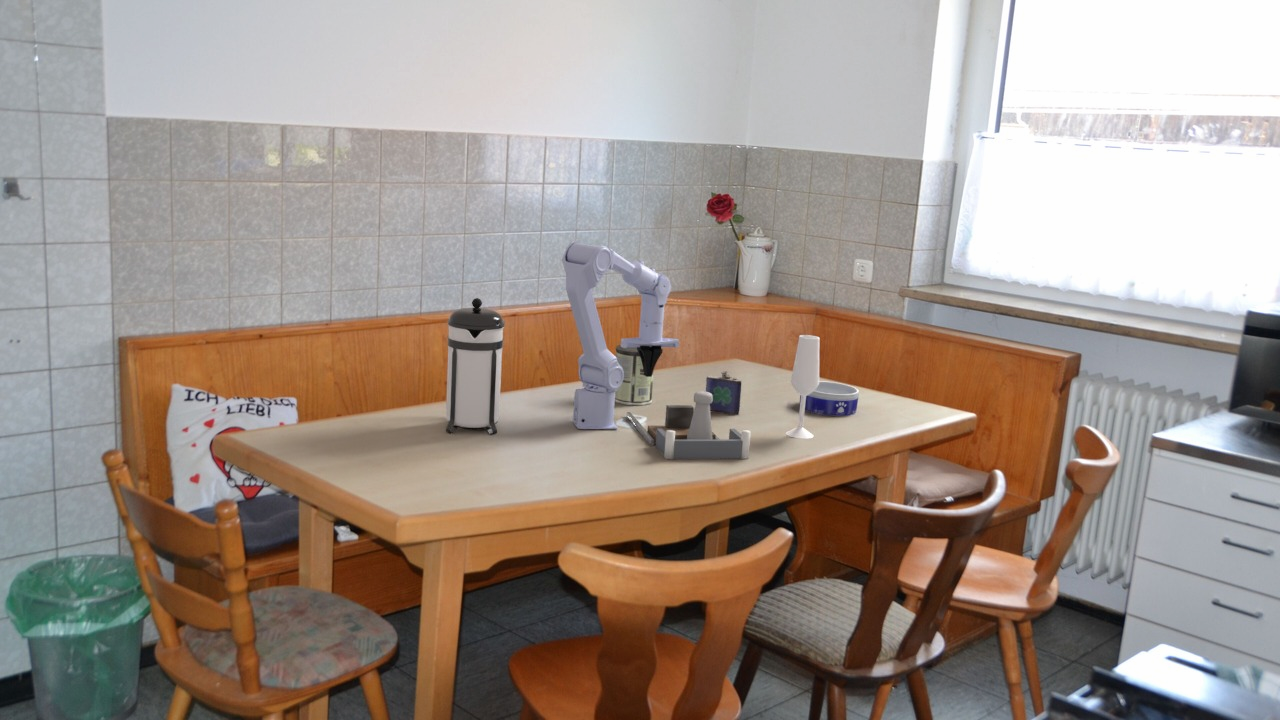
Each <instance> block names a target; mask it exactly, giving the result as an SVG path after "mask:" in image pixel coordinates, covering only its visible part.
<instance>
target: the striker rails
mask: <svg viewBox="0 0 1280 720" xmlns="http://www.w3.org/2000/svg"><path fill="white" fill-rule="evenodd" d="M626 416H629V417H631V418H632V420H633V422H634V423H635V425H636V427H635V429H637V431H638V432H639V433H640V434H641V436H642V437H643V438H644V439H645V440H646V442H647V443H648V444H649V445H650V446H655V440H654V439H653V438H652V437H651V435H650V434H649V433H648V432H647V430H646V428H645V427H644V426H643V425H642V424H641V423H640V422H639V421H638V419H637V418H636V417H635V416H634V415H633V414H632V412H631V411H626ZM715 439H720V438H719V437H718V436H717V435H716V438H715Z"/></svg>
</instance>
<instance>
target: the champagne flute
mask: <svg viewBox="0 0 1280 720" xmlns="http://www.w3.org/2000/svg"><path fill="white" fill-rule="evenodd" d="M820 340H821V339H820V337H819V336H817V335H809V334H800V335H799V336H798V342H797V347H796V352H795V358H794V362H793V363H794V364H793V368H792V373H791V376H790V383H791V386H792V388H793V389H794V390H795V391H796V392H797V393H798V394H799V396H800V395H801V402H800V401H799V412H798V423H797V427H794V428H793V429H790V430H788V431H786V432H785V434H786V435H787V436H788V437H791V438H795V439H804V440H806V439H807V440H808V439H813V438H814V434H813V433H811V432H810V431H808V430H807V429H806V428H804V419H805V411H806V410H805V401H806V396H807V395H809V394H810V393H812V392H813V391H814V390H815V389H816V388H817V387H818V385H819V381H820Z"/></svg>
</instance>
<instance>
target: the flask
mask: <svg viewBox="0 0 1280 720" xmlns="http://www.w3.org/2000/svg"><path fill="white" fill-rule="evenodd" d="M728 372H729V371H728V370H724V371H721V376H718V375H717V376H716V375H708V376H706V379H705V383H706V384H705V392H709V393H711V394H712V395H713V401H712V403H711V404H710V413H718V414H726V415H732V416H739V415H740V407H741V394H742V380H741V379H739V378H737V377H732V376H730V375H729V374H728Z"/></svg>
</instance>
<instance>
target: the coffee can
mask: <svg viewBox="0 0 1280 720" xmlns="http://www.w3.org/2000/svg"><path fill="white" fill-rule="evenodd" d="M615 357H616V358H617V361H618V363H619V365H620V366H621V367H622V368H623V372H624V378H623V382H622V384H621V386H620V387H619V388H618V390H617V391H615V403H617V404H621V405H625V406H626V405H627V406H645V405H650V404H651V403H652V402H653V387H654V386H653V385H654V383H653V382H654V371H655V369H654V370H653V373H652V377H646V376H645V375H644V370H643V365H642V361H641V358H640V355H639V352H638V350H637V347H627V348H623V347H621V344H619V345H616V347H615Z"/></svg>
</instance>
